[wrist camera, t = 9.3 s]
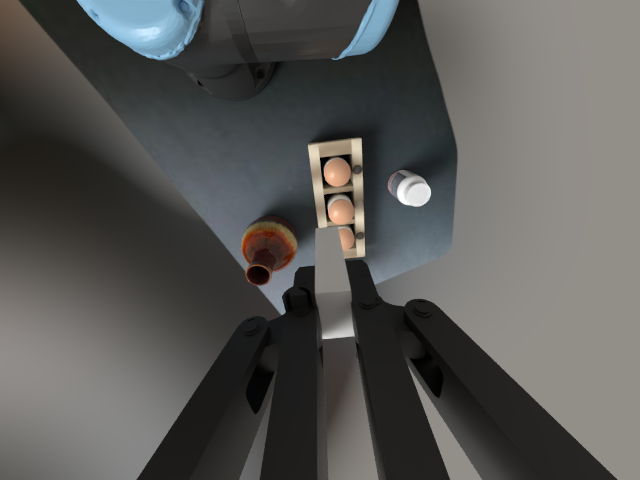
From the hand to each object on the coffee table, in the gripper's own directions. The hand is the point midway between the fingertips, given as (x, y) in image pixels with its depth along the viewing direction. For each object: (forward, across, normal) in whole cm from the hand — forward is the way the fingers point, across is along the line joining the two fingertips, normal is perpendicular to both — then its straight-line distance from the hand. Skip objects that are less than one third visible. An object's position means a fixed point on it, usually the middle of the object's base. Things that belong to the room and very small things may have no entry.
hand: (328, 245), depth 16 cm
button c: (+31, +3, -14) cm, 34 cm away
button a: (+31, +3, -1) cm, 31 cm away
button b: (+29, +3, -7) cm, 30 cm away
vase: (+32, -12, -13) cm, 36 cm away
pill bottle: (+32, +15, -5) cm, 36 cm away
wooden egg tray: (+32, +3, -7) cm, 33 cm away
